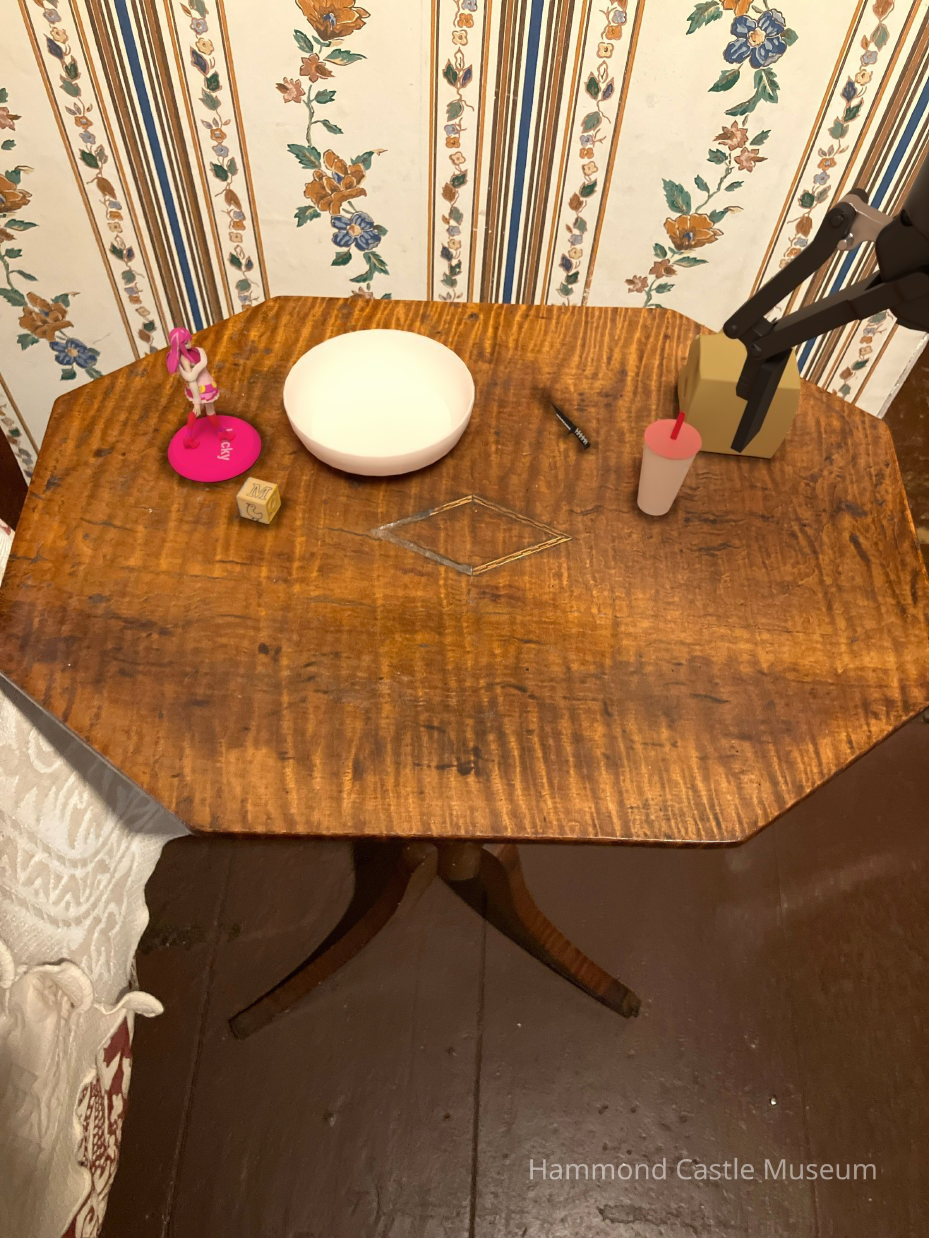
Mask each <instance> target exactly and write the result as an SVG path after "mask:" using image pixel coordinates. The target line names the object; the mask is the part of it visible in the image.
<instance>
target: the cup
mask: <svg viewBox="0 0 929 1238" xmlns="http://www.w3.org/2000/svg"><path fill="white" fill-rule="evenodd" d="M684 419H685V414H684V413H683V412H682V411H680V410H679V413H678V415H677V418H676V419H675V418H674V419H673V418H663V419H658V420H655V421H653V422H652V423H650V424H649V425H647V428H646V429H645V431H644V444H643V452H642V453H643V454H642V461H641V466H640V474H639V475H640V476H639V483H638V491H637V501H636V502H637V506H638V507H639V509H640V510H641V511H642V512H643V513H644V514H647V515H651V516H663V515H666V514H667V513H668V512H669V511H670V509H671V507H672V505H673V503H674V501H675V500H676V497H677V495H678V493H679V491H680V489H681V487H682V485H683V483H684V481H685V478H686V477H687V474H688V472H689V470H690V468H691V466H692V464H693V462H694V459H695V458H696V455H697V453H699V452H700V451H699V450H700V448H701V445H702V440H701V437H700V434H699V433H698V432H697V430H696V429H695V428H693V427H692V426H691V425H689V424H687V423H685V422H683V421H684Z"/></svg>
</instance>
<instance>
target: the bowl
mask: <svg viewBox="0 0 929 1238" xmlns="http://www.w3.org/2000/svg"><path fill="white" fill-rule="evenodd" d="M475 390H476V389H475V383H474V380H473V376H472V373H471V372H470V370H469V369H468V366H467V365H466V364H465V362H464V361H463V360H462V359H461V358H460V357H459V356H458V355H457V354H456V353H455V352H454V350H451V349H450V348H449V347H447V346H446V345H444V344H443V343H441V342H439V341H437V340H435V339H432V338H431V337H428V336H426V335H422V334H419V333H415V332H412V331H407V330H406V331H405V330H399V329H386V328H375V329H365V330H364V329H363V330H361V329H360V330H357V331H352V332H347V333H343V334H340V335H337V336H334V337H331V338H329V339H326V340H324V341H323V342H321V343H319V344H317V345H315V346H313V347H311V349H310V350H308V351H307V352H306V353H304V354H303V355H301V357H300V358H299V359H298V360H297V362H296V363H295V364H294V365H293V366H292V367H291V369H290V370H289V373H288V375H287V376H286V379H285V381H284V386H283V390H282V391H283V392H282V396H283V407H284V409H285V413H286V415H287V418H288V421H289V424H290V426H291V428H292V431H293V432H294V433H295V435H296V436H297V437H298V439H299V440H300V441H301V443H302V444H303V445H304V447H305V448H306V449H307V451H309V452H310V453H311V454H312V455H313V456H315V458H317V459H318V460H320V461H321V462H323V463H325V464H327V465H329V466H330V467H332V468H335V469H338V470H341V471H343V472H346V473H351V474H356V475H361V476H376V477H385V476H394V475H402V474H406V473H410V472H415V471H417V470H421V469H423V468H424V467H427V466H429V465H432V464H434V463H435V462H437V461H438V460H440V459H442V458H443V457H444V456H446V455H447V454H448V453H449V452H450V451H451V450H452V449H453V448H454V447H455V446H456V445H457V444H458V442H459V440H460V439H461V438H462V436H463V434H464V432H465V431H466V429H467V427H468V425H469V423H470V419H471V416H472V413H473V408H474V404H475V395H476V393H475Z"/></svg>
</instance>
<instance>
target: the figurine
mask: <svg viewBox="0 0 929 1238" xmlns="http://www.w3.org/2000/svg"><path fill="white" fill-rule="evenodd" d="M168 341H169V343H170V350H169V352H167V353H166V356H165V362H166V367H167V371H168V372H169V374H170V375H174V374H176V375H177V376H180V377H181V378H182V379H184V386H185V388H183V390H184V395H186V399H187V400H188V401H189V402H192V404H193V408H192V410H191V411H190V412H189V415H188V416H187V424H186V425H184V426H182V427H181V428H180V429H179V430H178V431H177V432H176V433H174V436H173V437H172V439H171V440H170V442H169V445H168V448H167V458H168V462H169V464H170V466H171V468H172V469H173V470H174V471H175V472H176V473H177V474H179V475H180V476H181V477H183V478H186V479H189V480H192V481H195V482H202V483H203V482H204V483H214V482H222V481H226V480H229V479H233V478H235V477H236V476H239V475H241V474H243V473H244V472H246V471H247V470H249V468H251V467H252V466H253V465H254V463H256V461H257V460H258V458H259V456H260V454H261V451H262V440H261V435H260V434H259V432H258V431H257V430H256V429H255V428H254V427H253V425H251V424H250V423H248V422H247V421H245V420H243V419H242V418H239V417H235V416H231V415H223V414H222V415H221V414H219V415H217V414H216V411H215V405H214V402H215V401H216V400H218V399H219V397H220V393H221V392H220V390H219V389H220V388H219V387H218V383H217V381H216V380H215V378H213V377H212V375H211V374H210V372H209V371H208V369H207V366H208V355H207V354H206V352H205V350H204V348H203V347H199V346H197V347H192V341H193V337H192V334H191V333H190V330H189V329H187V328H186V327H183V326H182V327H175V328H173V329H171V330H170V331H169V334H168ZM204 406H205V413H206V416H204V417H200V418H198V417H199V416H200V415H201V412H202V410H203V409H204Z"/></svg>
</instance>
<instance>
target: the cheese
mask: <svg viewBox="0 0 929 1238" xmlns="http://www.w3.org/2000/svg"><path fill="white" fill-rule="evenodd" d="M792 349H793V350H792V353H791V355H790V358H789V360H788V363H787V365H786V368H785V370H784V372H783V375H782V377H781V380H780V382H779V385H778V387H777V390H776V392H775V395H774V397H773V400H772V402H771V405H770V407H769V410H768V412H767V414H766V417H765V419H764V422H763V424H762V427H761V429H760V431H759V432H758V434H757V435H756V436H755V437H754V438H753V439H752V441H751V442H750V443H749V444H748V445H747V446H746V448H745V449H744V450H743V451H742V452H741V453H739V452H737V451H735V450H733V449H731V448H730V447H731V444H732V442H733V439H734V436H735V434H736V431H737V428H738V426H739V423H740V420H741V418H742V415H743V412H744V410H745V407H746V404H747V402H748V401H746V400H744V399H742V398H740V397H738V396H736V385H737V382H738V380H739V377H740V375H741V371H742V368H743V365H744V363H745V360H746V357H747V350H746V347H745V346H744V344H743V343H742V342H741V341H740V340H738V339H730V338H728V337H727V336H726V335H725V334H724V332H723V326H722V327H721V329H720V330H719V331H717V332H716V333H715V334H696V335H695V336H694V337H693V339H692V341H691V343H690V345H689V348H688V354H687V360H686V363H685V365H683V366H682V368H681V370H680V373H679V375H678V379H677V398H678V406H679V407H678V408H679V412H680V411H682V412H683V413H684V414H685V419H684V421H683V422H685V423H687V424H689V425H691V426H692V427H693V428H695V429H696V430H697V432H698V433H699V434H700V437H701V440H702V445H701V448H700V450H699V451H698V452H708V453H710V452H711V453H717V454H724V455H725V454H726V455H738V456H749V457H756V458H764V459H772V458H773V456H774V455H775V453H776V452H777V451H778V449H779V448H780V446H781V445H782V443H783V442H784V440H785V439H786V436H787V434H788V433H789V430H790V428H791V427H792V424H793V422H794V419H795V417H796V415H797V412H798V408H799V404H800V397H801V393H802V384H801V383H802V382H801V376H800V371H799V366H798V360H797V356H796V346H794V347H792Z"/></svg>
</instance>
